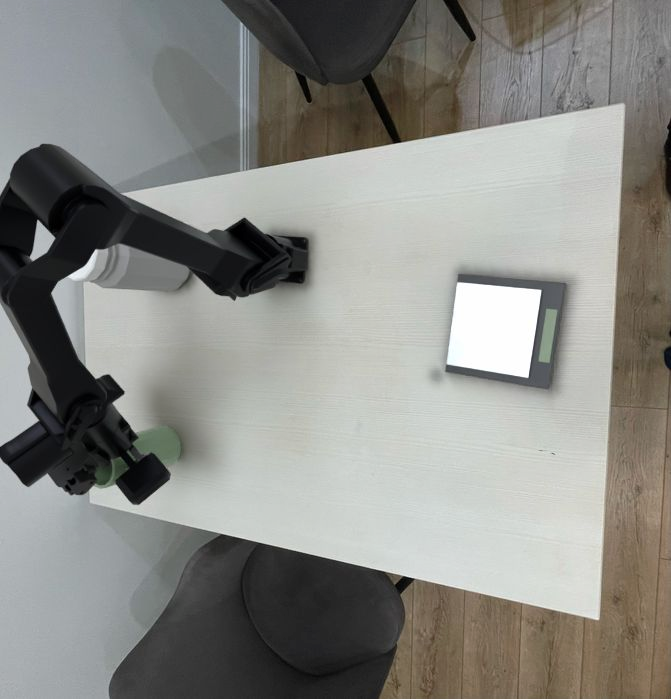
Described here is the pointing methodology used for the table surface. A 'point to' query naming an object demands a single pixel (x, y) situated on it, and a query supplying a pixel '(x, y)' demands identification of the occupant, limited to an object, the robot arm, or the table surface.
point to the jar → (131, 270)
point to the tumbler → (150, 440)
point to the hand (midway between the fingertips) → (129, 461)
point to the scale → (505, 329)
